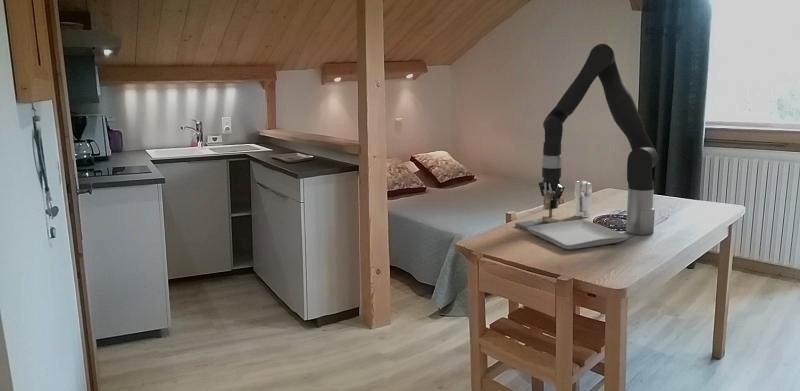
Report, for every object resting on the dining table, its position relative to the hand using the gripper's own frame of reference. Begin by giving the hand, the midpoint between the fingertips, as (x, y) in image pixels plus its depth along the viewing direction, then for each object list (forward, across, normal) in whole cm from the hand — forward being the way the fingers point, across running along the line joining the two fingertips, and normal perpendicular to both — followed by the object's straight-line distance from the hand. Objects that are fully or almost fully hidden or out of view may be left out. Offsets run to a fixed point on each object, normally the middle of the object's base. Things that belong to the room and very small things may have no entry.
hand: (550, 207), depth 256 cm
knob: (+6, 0, +2) cm, 6 cm away
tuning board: (+7, 0, +4) cm, 8 cm away
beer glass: (+8, +5, -22) cm, 24 cm away
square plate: (+8, -21, +5) cm, 23 cm away
